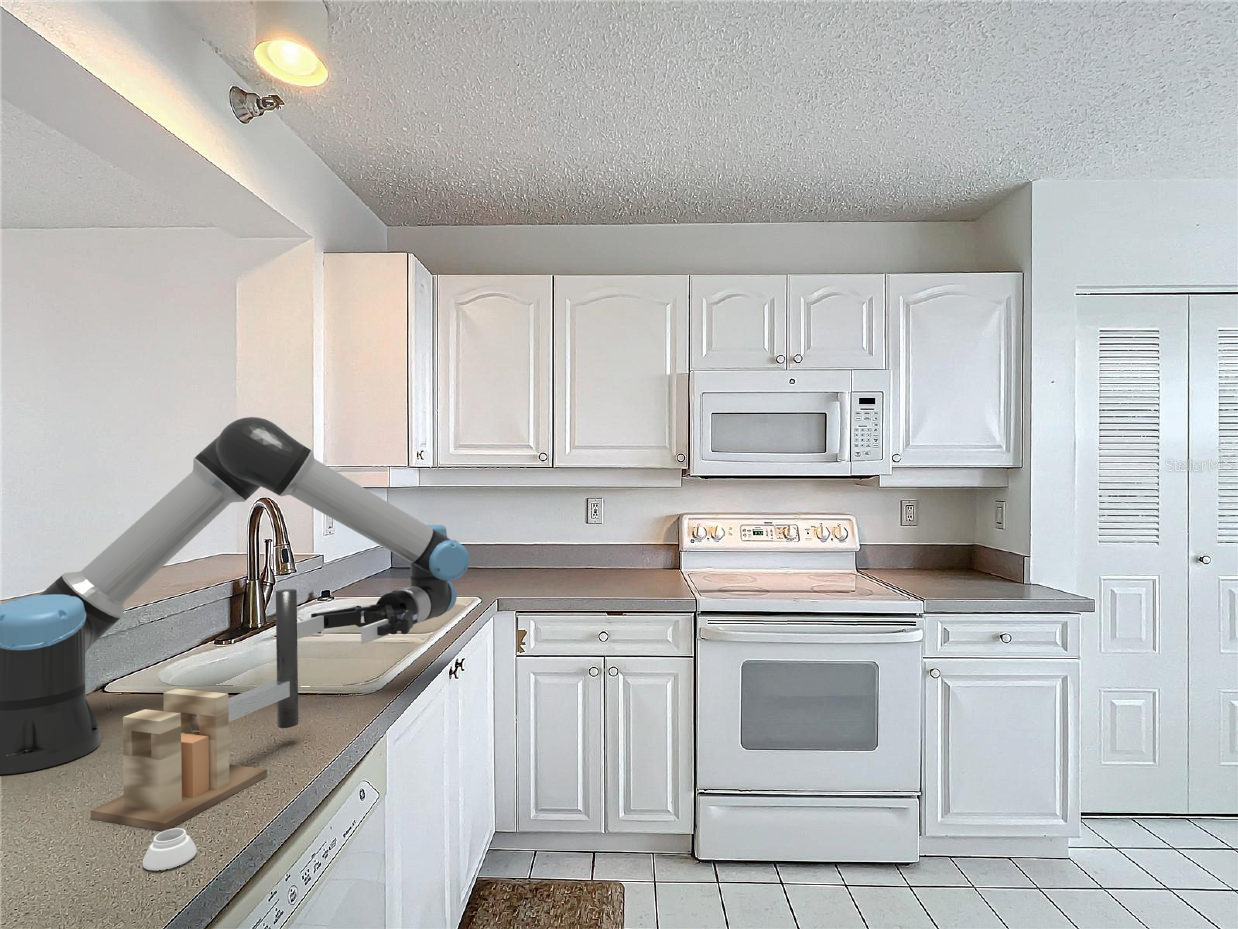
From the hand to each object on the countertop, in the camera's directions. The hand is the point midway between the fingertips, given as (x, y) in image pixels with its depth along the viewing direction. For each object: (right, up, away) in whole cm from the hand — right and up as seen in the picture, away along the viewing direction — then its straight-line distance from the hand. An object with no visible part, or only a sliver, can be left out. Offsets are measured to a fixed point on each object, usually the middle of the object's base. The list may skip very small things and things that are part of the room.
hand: (328, 633), depth 124 cm
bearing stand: (-8, -15, -26) cm, 31 cm away
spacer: (-9, -14, -28) cm, 32 cm away
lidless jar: (-1, -15, -43) cm, 46 cm away
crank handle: (-5, -12, -16) cm, 21 cm away
